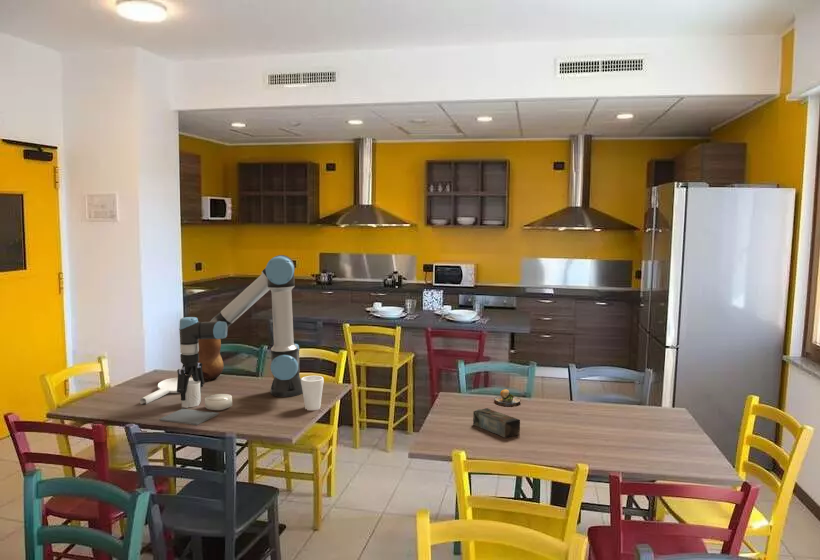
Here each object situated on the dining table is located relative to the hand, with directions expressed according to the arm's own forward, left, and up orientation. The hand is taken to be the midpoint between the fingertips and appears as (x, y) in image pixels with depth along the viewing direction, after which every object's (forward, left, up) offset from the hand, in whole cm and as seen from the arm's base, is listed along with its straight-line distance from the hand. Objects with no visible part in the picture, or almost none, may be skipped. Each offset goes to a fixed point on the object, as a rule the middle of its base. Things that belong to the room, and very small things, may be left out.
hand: (191, 404), depth 259 cm
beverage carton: (-132, -11, -1) cm, 132 cm away
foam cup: (-52, -13, -1) cm, 54 cm away
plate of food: (-131, -47, -1) cm, 139 cm away
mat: (-10, +14, 0) cm, 17 cm away
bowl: (-14, 0, 0) cm, 14 cm away
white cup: (0, 0, -1) cm, 1 cm away
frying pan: (+21, -11, -1) cm, 24 cm away
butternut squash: (+20, -40, -1) cm, 45 cm away
